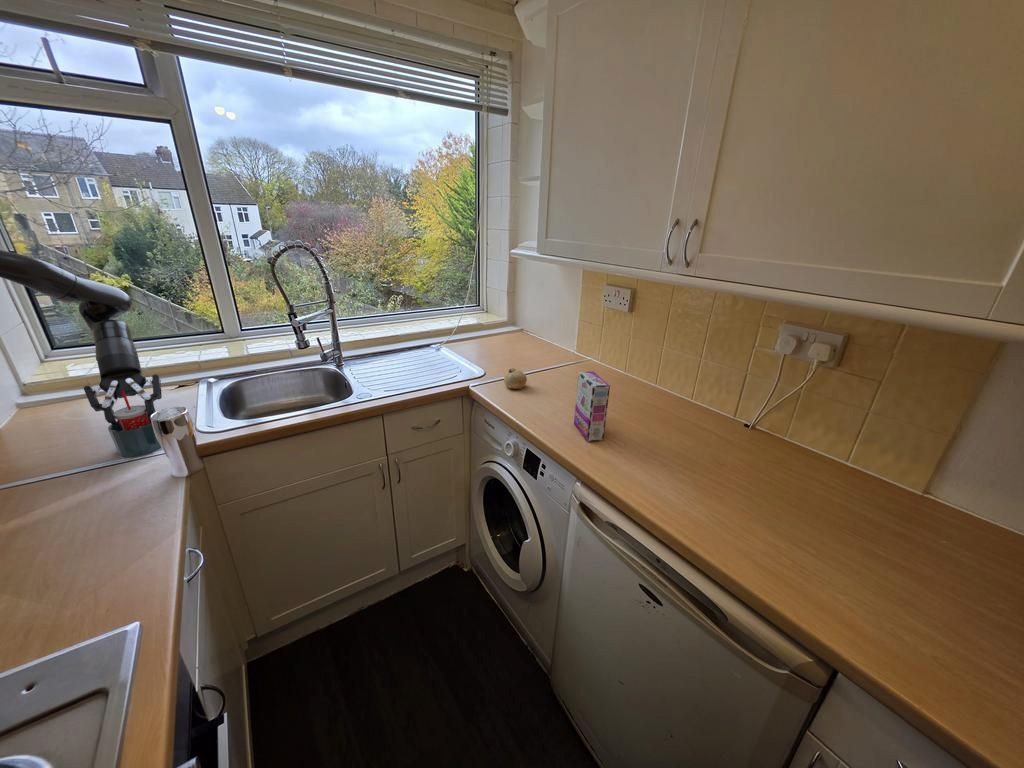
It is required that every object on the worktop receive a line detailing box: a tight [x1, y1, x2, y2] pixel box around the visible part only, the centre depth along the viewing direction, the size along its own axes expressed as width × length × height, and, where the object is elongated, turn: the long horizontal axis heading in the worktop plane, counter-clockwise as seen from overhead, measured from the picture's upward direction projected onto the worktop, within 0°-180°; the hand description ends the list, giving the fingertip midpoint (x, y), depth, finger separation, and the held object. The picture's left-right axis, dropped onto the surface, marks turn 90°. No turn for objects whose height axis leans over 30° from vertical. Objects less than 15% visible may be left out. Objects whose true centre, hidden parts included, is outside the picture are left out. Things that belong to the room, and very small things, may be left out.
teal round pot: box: [107, 414, 162, 458], centre depth 101 cm, size 10×10×8 cm
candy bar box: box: [573, 371, 611, 443], centre depth 111 cm, size 11×5×16 cm, turn 12°
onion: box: [503, 367, 528, 390], centre depth 142 cm, size 8×8×7 cm
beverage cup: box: [113, 391, 150, 431], centre depth 99 cm, size 6×6×14 cm
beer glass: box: [150, 406, 205, 478], centre depth 92 cm, size 7×7×15 cm
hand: (132, 419), depth 97 cm, fingers closed on beverage cup, 6 cm apart
